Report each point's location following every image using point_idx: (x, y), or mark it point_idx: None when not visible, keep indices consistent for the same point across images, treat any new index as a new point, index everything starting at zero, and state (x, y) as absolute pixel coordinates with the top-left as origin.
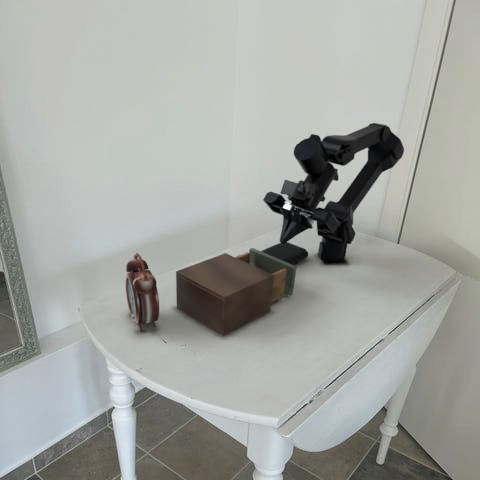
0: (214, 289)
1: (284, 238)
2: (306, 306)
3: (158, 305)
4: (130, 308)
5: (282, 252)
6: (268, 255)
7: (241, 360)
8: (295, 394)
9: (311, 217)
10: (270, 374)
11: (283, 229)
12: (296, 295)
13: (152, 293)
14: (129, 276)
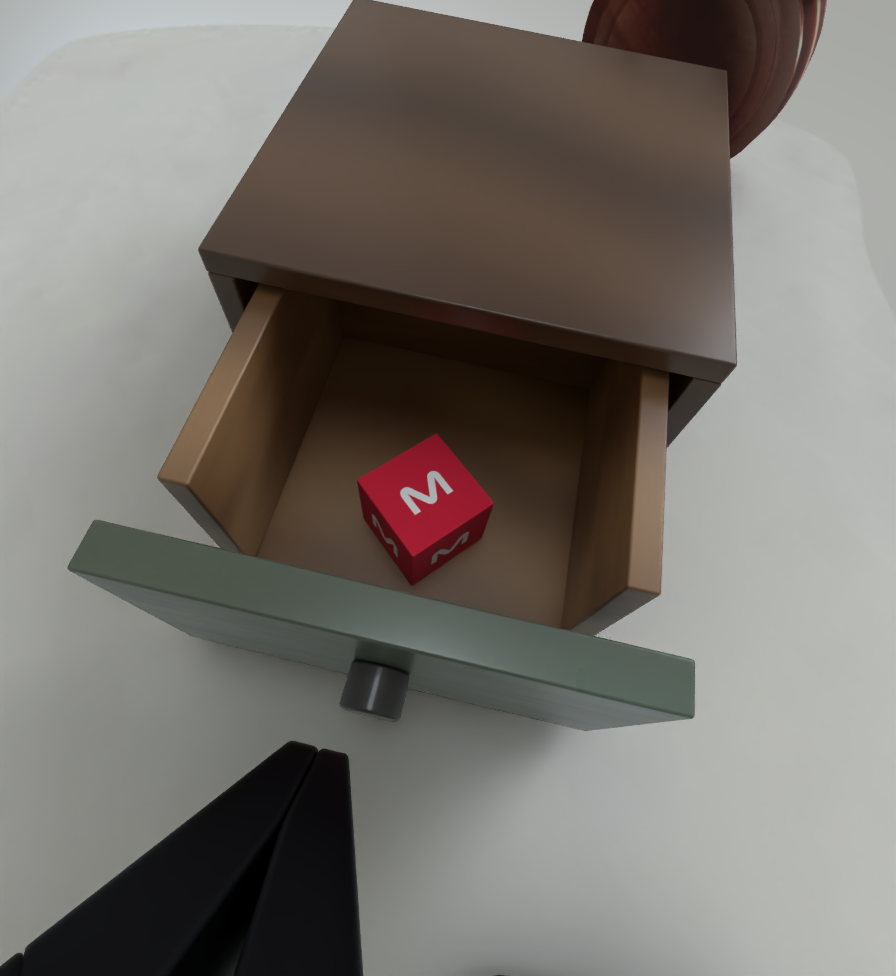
0: (439, 20)
1: (247, 777)
2: (84, 598)
3: (589, 13)
4: None
5: None
6: (440, 635)
7: (247, 145)
8: (31, 99)
9: None
10: (131, 131)
11: (303, 949)
12: (184, 699)
13: None
14: None
